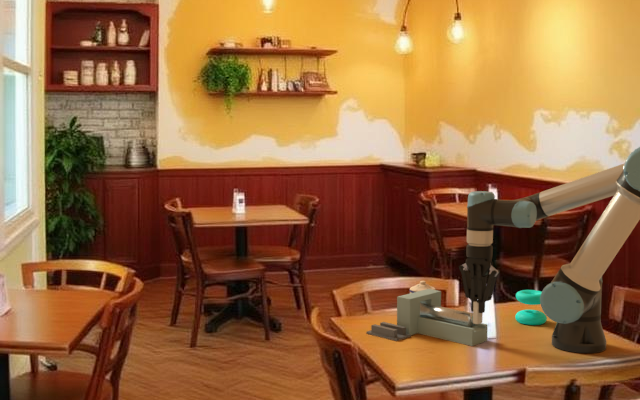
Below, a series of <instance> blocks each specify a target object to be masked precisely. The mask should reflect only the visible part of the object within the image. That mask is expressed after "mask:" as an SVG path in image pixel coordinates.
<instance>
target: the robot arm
mask: <svg viewBox="0 0 640 400" xmlns="http://www.w3.org/2000/svg"><path fill="white" fill-rule="evenodd" d="M610 197H612V198H611V200H610V201H609V202H608V205H606V208H605V209H604V210H603V212H602V214H601V215H600V216H599V218H598V220H597V221H596V223H595V224H594V226H593V227H592V229H591V231H590V232H589V234H588V235H587V237H586V238H585V240H584V242H583V243H582V245H581V246H580V248H579V249H578V250H577V252H576V254H575V255H574V257H573V259H572V260H571V262H570V263H566V264H563V265H561V267H560V268H559V269H558V271H557V273H556V274H555V276H554V278H553V279H552V280H551V282H550V283H548V284H546V286H544V287H543V289H542V293H541V296H540V304H539V305H540V306H541V310H542V312H543V313H544V314H545V315H546V317H547V318H548V319H550V320H551V321H552V322H554V323H555V322H556V324H555V325H554V326H555V327H554V329H553V331H552V334H551V345H552V346H553V347H554V348H556V349H558V350H561V351H566V352H571V353H581V354H594V353H601V352H603V351H605V350H607V338H606V335H605V331H604V329H603V326H602V322H601V321H602V320H601V319H602V318H601V315H602V295H603V294H602V293H603V292H602V291H603V275H604V274H605V272H606V271H607V269H608V268H609V267H610V265H611V263H612V262H613V260H614V259H615V257H616V255H617V254H618V253H619V252H620V249H621V248H623V245H624V244H625V242H626V241H627V239H628V238H629V236H630V235H631V234H632V232H633V230H634V229H635V227H636V226H637V224H638V223H639V222H640V146H638V147H637V148H635V149H634V150H633V151H632V152H630V153H629V155H628V156H627V158H626V159H625V162H624V163H622V164H619V165H615V166H613V167H610V168H606V169H603V170H601V171H598V172H595V173H593V174H590V175H587V176H584V177H581V178H578V179H575V180H572V181H569V182H566V183H563V184H560V185H557V186H554V187H552V188H549V189H546V190H543V191H541V192H537V193H534V194H532V195H528V196H525V197H521V198H517V199H498V198H497V199H496V197H495V194H494V192H492V191H488V190H487V191H485V190H483V191H482V190H475V191H474V190H473V191H471V192H469V194H468V196H467V205H466V213H467V214H466V218H467V219H466V221H467V222H466V223H467V224H466V226H467V227H466V243H467V245H466V246H465V247H466V249H465V250H466V252H465V254H466V259H465V263H463V264H460V265H458V269H459V271H460V273H461V279H462V285H463V291H464V296H465V298H466V299H469V300H470V301H471V303H470V310H471V312H472V313H473V323H474V324H480V323H483V315H484V313H485V311H486V302H489V301H491V300H492V298H493V294H494V289H495V285H496V282H497V277H498V276H499V275H500V272H501V270H500V269H496V268H495V267H494V262H493V261H492V259H493V251H494V250H493V249H494V247H493V245H492V244H493V243H494V240H493V239H494V226H501V227H502V226H503V227H513V228H518V229H522V228H524V229H525V228H526V229H527V228H529V229H530V228H533V227H534V225H535V223H536V221H540V220H542V219H546V218H548V217H550V216H553V215H556V214H559V213H563V212H566V211H569V210H573V209H576V208H579V207H583V206H586V205H589V204H592V203H594V202H598V201H601V200H604V199H608V198H610ZM488 275H489V276H488Z"/></svg>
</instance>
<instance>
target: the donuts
mask: <svg viewBox="0 0 640 400" xmlns="http://www.w3.org/2000/svg"><path fill="white" fill-rule="evenodd" d="M542 291H543V290H542ZM542 291H541V290H536V289H522V290H519V291H517V292H516V293H515V298H516V300H517V302H519V303H521V304H523V305H528V306H529V305H530V306H531V305H532V306H533V305H534V306H537V305H541V304H540V296H541V293H542ZM514 316H515V317H514V318H515V321H516V322H517V323H519V324H523V325H527V326H540V325H543V324H545V323H546V322H547V320H548V316H547V315H546V314H545V313H544V311H540V310H538V309H537V310H536V309H522V310H519V311H517V312H516V314H515V315H514Z"/></svg>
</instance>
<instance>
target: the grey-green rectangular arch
mask: <svg viewBox="0 0 640 400" xmlns="http://www.w3.org/2000/svg"><path fill="white" fill-rule="evenodd" d="M420 303H425V304H430V305H435V306H440V307H442V290H437V289H436V290H432V289H426V290H422V291H418V292H414V293H410V292H409V293H407V294H403V295H398V296H396V325H399V326H404V327H406V334H410V335H411V336H413V335H417V334H419V333H418V317H420Z"/></svg>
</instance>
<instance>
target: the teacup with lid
mask: <svg viewBox="0 0 640 400" xmlns="http://www.w3.org/2000/svg"><path fill="white" fill-rule="evenodd" d="M426 282H427V281H425V280H420V281H419V283H417V284H415V285H413V286H411V287H410V288H409V289H408V290H409V294H410V293H414V292H418V291H422V290H426V289H432V290H437V289H436V288H435V286H431V285H430V284H428V283H426Z"/></svg>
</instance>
